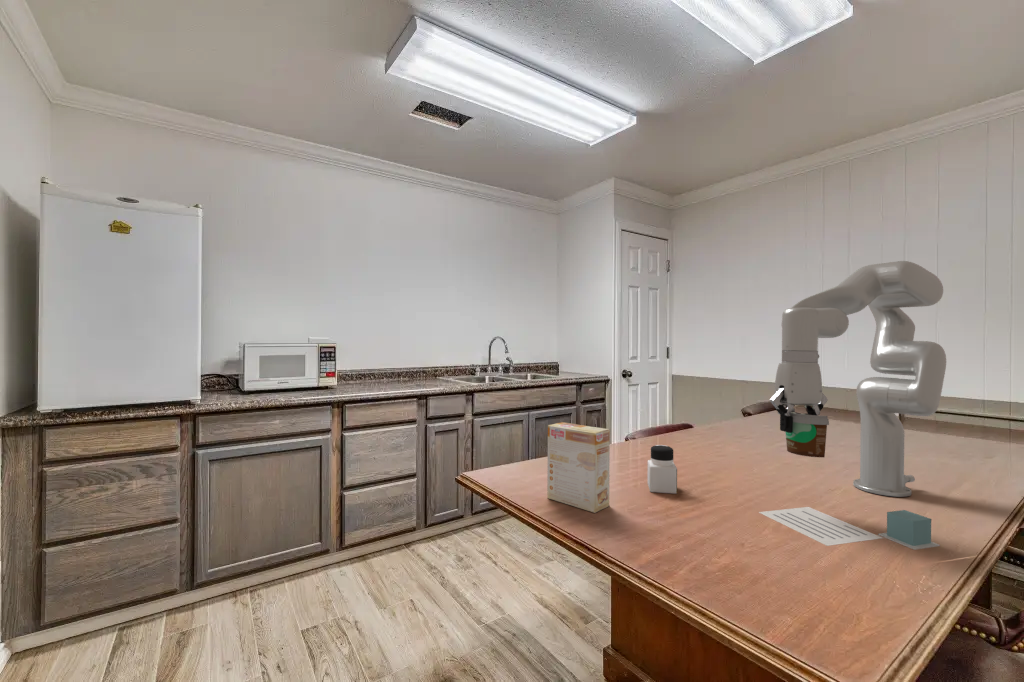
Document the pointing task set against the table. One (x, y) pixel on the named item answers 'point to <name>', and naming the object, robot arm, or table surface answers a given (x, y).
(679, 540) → the table surface
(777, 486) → the table surface
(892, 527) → the teal block
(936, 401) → the robot arm
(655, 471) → the medicine bottle
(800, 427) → the food container
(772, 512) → the letter
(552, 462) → the coffeecake box
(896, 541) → the mat
